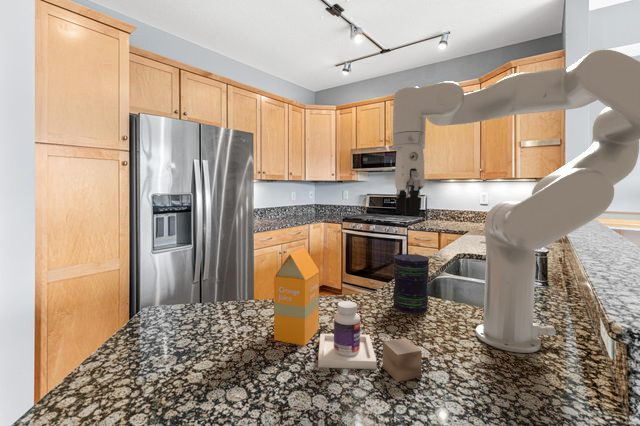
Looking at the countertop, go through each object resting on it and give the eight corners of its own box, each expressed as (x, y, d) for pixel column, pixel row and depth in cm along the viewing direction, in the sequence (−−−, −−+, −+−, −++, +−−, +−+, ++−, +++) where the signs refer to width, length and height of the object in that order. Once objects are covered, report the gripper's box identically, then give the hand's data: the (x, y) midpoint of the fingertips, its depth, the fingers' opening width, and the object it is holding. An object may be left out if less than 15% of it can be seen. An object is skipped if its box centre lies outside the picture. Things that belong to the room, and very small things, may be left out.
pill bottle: (359, 358, 60) (359, 310, 59) (331, 355, 61) (332, 307, 60) (360, 345, 65) (361, 300, 64) (335, 342, 66) (336, 298, 65)
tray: (369, 341, 68) (369, 334, 68) (376, 369, 57) (376, 361, 57) (320, 340, 69) (320, 333, 68) (318, 367, 58) (318, 359, 57)
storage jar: (400, 299, 96) (401, 252, 95) (432, 306, 90) (433, 256, 89) (387, 309, 88) (388, 257, 87) (421, 317, 82) (423, 262, 81)
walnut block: (405, 362, 60) (405, 338, 59) (420, 377, 55) (421, 350, 55) (382, 367, 58) (383, 341, 58) (396, 382, 53) (397, 354, 53)
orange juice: (273, 340, 68) (273, 252, 67) (290, 324, 77) (290, 246, 76) (305, 346, 66) (305, 254, 65) (319, 329, 74) (320, 248, 73)
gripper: (436, 135, 64) (434, 216, 65) (414, 148, 81) (413, 212, 82) (400, 135, 64) (399, 216, 65) (386, 148, 81) (385, 212, 82)
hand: (406, 213), depth 74 cm, fingers open, 9 cm apart
